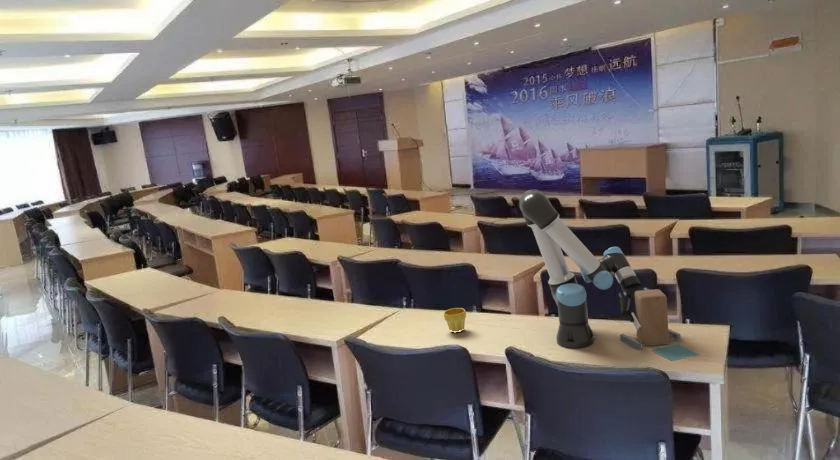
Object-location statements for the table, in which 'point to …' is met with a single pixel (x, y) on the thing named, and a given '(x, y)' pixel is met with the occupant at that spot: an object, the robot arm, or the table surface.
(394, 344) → the table surface
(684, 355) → the mat
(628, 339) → the chute
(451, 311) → the plant pot
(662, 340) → the wooden block
